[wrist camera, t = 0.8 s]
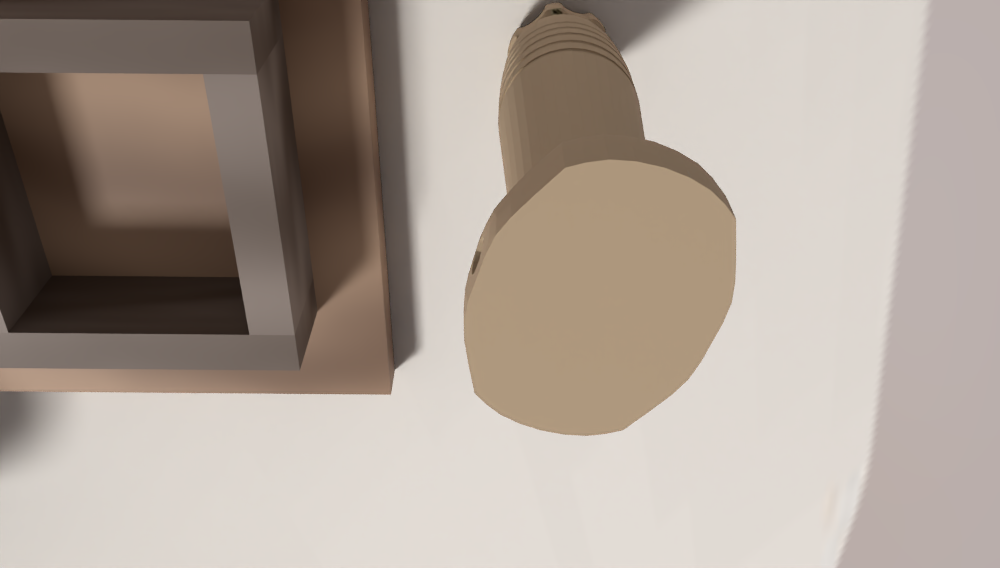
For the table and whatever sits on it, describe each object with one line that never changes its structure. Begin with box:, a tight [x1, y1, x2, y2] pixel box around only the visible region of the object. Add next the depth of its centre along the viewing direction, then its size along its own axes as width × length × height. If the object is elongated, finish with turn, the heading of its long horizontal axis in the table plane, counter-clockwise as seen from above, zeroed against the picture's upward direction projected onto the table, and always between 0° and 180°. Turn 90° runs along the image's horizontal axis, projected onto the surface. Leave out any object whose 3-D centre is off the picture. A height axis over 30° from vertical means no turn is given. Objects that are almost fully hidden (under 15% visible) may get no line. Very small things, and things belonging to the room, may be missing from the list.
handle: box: [464, 3, 736, 436], centre depth 24 cm, size 5×6×15 cm
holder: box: [0, 0, 395, 394], centre depth 30 cm, size 20×16×5 cm
